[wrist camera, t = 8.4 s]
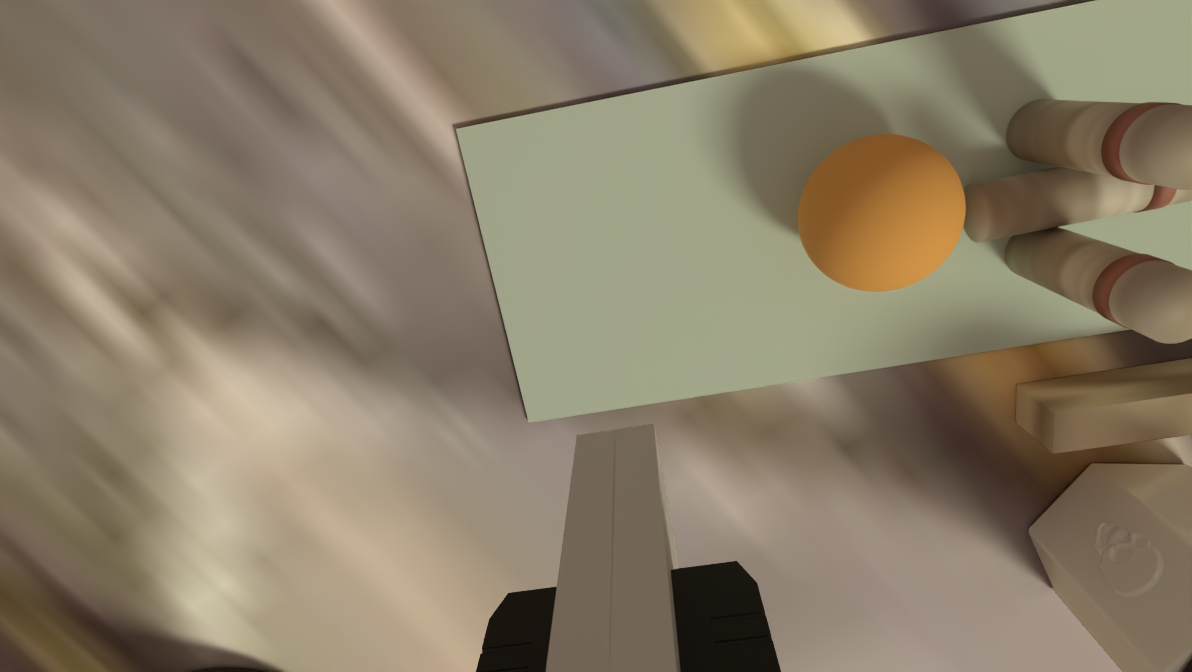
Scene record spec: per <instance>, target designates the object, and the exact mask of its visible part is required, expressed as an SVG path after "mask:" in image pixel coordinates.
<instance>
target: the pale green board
mask: <svg viewBox="0 0 1192 672" xmlns="http://www.w3.org/2000/svg"><path fill="white" fill-rule="evenodd" d="M1041 99H1048V100H1073V101H1098V102H1123V103H1146V102H1166V103H1179V104H1182V105H1192V0H1095V1H1090V2H1085V3H1080V4H1075V5H1070V6H1065V7H1060V8H1055V9H1050V10H1045V11H1040V12H1035V13H1030V14H1025V15H1020V16H1015V17H1010V18H1005V19H1000V20H995V21H990V22H985V23H980V24H975V25H970V26H965V27H961V28H956V29H951V30H946V31H941V32H936V33H931V34H926V35H921V36H916V37H911V38H906V39H901V40H896V41H891V42H886V43H881V44H876V45H871V46H866V47H861V48H856V49H851V50H846V51H841V52H836V53H831V54H826V55H821V56H816V57H811V58H806V59H801V60H796V61H791V62H786V63H781V64H776V65H771V66H766V67H761V68H756V69H751V70H746V71H741V72H736V73H731V74H727V75H722V76H717V77H712V78H707V79H702V80H697V81H692V82H687V83H682V84H677V85H672V86H667V87H662V88H657V89H652V90H647V91H642V92H637V93H632V94H627V95H622V96H617V97H612V98H607V99H602V100H597V101H592V102H587V103H582V104H577V105H572V106H567V107H562V108H557V109H552V110H547V111H542V112H537V113H532V114H527V115H522V116H517V117H512V118H507V119H502V120H498V121H493V122H488V123H483V124H478V125H473V126H468V127H463V128H458V129H456V132H457V136H458V140H459V144H460V148H461V152H462V156H463V160H464V164H465V168H466V172H467V176H468V180H469V184H470V188H471V192H472V197H473V201H474V205H475V209H476V213H477V217H478V221H479V225H480V229H481V233H482V237H483V241H484V245H485V249H486V253H487V257H488V261H489V265H490V269H491V273H492V277H493V281H494V285H495V289H496V293H497V297H498V301H499V305H500V309H501V313H502V317H503V321H504V325H505V329H506V333H507V337H508V341H509V345H510V349H511V353H512V357H513V361H514V365H515V369H516V373H517V377H518V381H519V386H520V390H521V394H522V398H523V402H524V406H525V410H526V414H527V418H528V422H529V423H530V422H537V421H543V420H550V419H556V418H562V417H569V416H575V415H582V414H588V413H595V412H601V411H608V410H614V409H621V408H627V407H633V406H640V405H646V404H653V403H659V402H666V401H672V400H679V399H685V398H691V397H698V396H704V395H711V394H717V393H724V392H730V391H737V390H743V389H750V388H756V387H762V386H769V385H775V384H782V383H788V382H795V381H801V380H808V379H814V378H821V377H827V376H833V375H840V374H846V373H853V372H859V371H866V370H872V369H879V368H885V367H892V366H898V365H904V364H911V363H917V362H924V361H930V360H937V359H943V358H950V357H956V356H962V355H969V354H975V353H982V352H988V351H995V350H1001V349H1008V348H1014V347H1021V346H1027V345H1033V344H1040V343H1046V342H1053V341H1059V340H1066V339H1072V338H1079V337H1085V336H1092V335H1098V334H1104V333H1111V332H1117V331H1124V330H1130V329H1128V328H1124V327H1122V326H1120V325H1118V324H1116V323H1114V322H1112V321H1110V320H1108V319H1105V318H1104V317H1102V316H1101V315H1100V314H1098V313H1096V312H1094V311H1092V310H1090V309H1088V308H1086V307H1084V306H1082V305H1080V304H1077V303H1075V302H1073V301H1071V300H1069V299H1067V298H1065V297H1063V296H1061V295H1059V294H1057V293H1054V292H1052V291H1050V290H1048V289H1046V288H1044V287H1042V286H1040V285H1038V284H1036V283H1034V282H1031V281H1029V280H1027V279H1025V278H1023V277H1021V276H1019V275H1017V274H1015V273H1013V272H1012V271H1011V270H1010V269H1009V268H1008V266H1007V264H1006V262H1005V248H1006V245H1007V243H1008V241H1009V239H1010V238H1011V237H1012V236H1009V237H1004V238H999V239H994V240H989V241H983V242H978V243H976V242H973V241H972V240H971V239H970V238H969V237H968V236H967V234H966V232H965V230H964V227H963V229H962V232H961V235H960V238H959V240H958V242H957V244H956V246H955V247H954V249H953V251H952V252H951V254H950V255H949V256H948V258H947V259H946V260H945V261H944V262H943V263H942V264H941V265H940V266H939V267H938V268H937V269H936V270H935V271H933V272H932V273H931V274H930V275H928V276H927V277H925V278H923V279H922V280H920V281H918V282H916V283H914V284H912V285H909V286H907V287H903V288H900V289H896V290H891V291H884V292H870V291H862V290H856V289H852V288H849V287H846V286H844V285H842V284H839V283H837V282H835V281H834V280H832V279H830V278H829V277H827V276H826V275H825V274H824V273H823V272H821V271H820V270H819V269H818V268H817V267H816V266H815V264H814V263H813V262H812V261H811V259H810V258H809V256H808V254H807V253H806V251H805V249H804V247H803V245H802V242H801V238H800V234H799V229H798V207H799V202H800V198H801V195H802V192H803V189H804V187H805V185H806V183H807V181H808V179H809V177H810V176H811V174H812V173H813V172H814V170H815V169H816V167H817V166H818V165H819V164H820V163H821V162H822V161H823V160H824V159H825V158H826V157H827V156H829V155H830V154H831V153H832V152H834V151H835V150H837V149H838V148H840V147H842V146H843V145H845V144H847V143H850V142H852V141H854V140H857V139H860V138H863V137H867V136H873V135H880V134H894V135H902V136H906V137H910V138H914V139H917V140H919V141H922V142H924V143H926V144H928V145H929V146H931V147H933V148H934V149H936V150H937V151H938V152H940V153H941V154H942V155H943V156H944V157H945V158H946V159H947V160H948V161H949V162H950V164H951V165H952V166H953V168H954V169H955V171H956V173H957V174H958V176H959V178H960V181H961V184H962V187H963V189H964V188H965V187H966V186H967V185H971V184H976V183H981V182H985V181H990V180H995V179H1000V178H1005V177H1010V176H1015V175H1020V174H1024V173H1029V172H1034V171H1039V170H1044V169H1049V168H1054V167H1058V166H1053V165H1048V164H1043V163H1038V162H1032V161H1027V160H1023V159H1020V158H1018V157H1016V156H1015V155H1014V154H1013V153H1012V152H1011V151H1010V149H1009V147H1008V145H1007V141H1006V132H1007V127H1008V124H1009V122H1010V120H1011V118H1012V117H1013V115H1014V114H1015V113H1016V112H1017V111H1018V110H1019V109H1020V108H1021V107H1023V106H1024V105H1025V104H1027V103H1029V102H1032V101H1035V100H1041ZM1060 228H1063V229H1066V230H1069V231H1072V232H1075V233H1078V234H1081V235H1084V236H1087V237H1090V238H1094V239H1097V240H1100V241H1103V242H1106V243H1109V244H1112V245H1115V246H1118V247H1121V248H1124V249H1128V250H1131V251H1134V252H1137V253H1140V254H1148V255H1151V256H1154V257H1157V258H1160V259H1164V260H1167V261H1170V262H1172V263H1174V264H1175V265H1177V266H1180V267H1183V268H1186V269H1189V270H1192V201H1188V202H1183V203H1178V204H1173V205H1167V206H1165V207H1163V208H1159V209H1153V210H1148V211H1143V212H1138V213H1134V212H1132V213H1127V214H1121V215H1116V216H1111V217H1106V218H1101V219H1096V220H1091V221H1086V222H1081V223H1075V224H1070V225H1065V226H1060Z"/></svg>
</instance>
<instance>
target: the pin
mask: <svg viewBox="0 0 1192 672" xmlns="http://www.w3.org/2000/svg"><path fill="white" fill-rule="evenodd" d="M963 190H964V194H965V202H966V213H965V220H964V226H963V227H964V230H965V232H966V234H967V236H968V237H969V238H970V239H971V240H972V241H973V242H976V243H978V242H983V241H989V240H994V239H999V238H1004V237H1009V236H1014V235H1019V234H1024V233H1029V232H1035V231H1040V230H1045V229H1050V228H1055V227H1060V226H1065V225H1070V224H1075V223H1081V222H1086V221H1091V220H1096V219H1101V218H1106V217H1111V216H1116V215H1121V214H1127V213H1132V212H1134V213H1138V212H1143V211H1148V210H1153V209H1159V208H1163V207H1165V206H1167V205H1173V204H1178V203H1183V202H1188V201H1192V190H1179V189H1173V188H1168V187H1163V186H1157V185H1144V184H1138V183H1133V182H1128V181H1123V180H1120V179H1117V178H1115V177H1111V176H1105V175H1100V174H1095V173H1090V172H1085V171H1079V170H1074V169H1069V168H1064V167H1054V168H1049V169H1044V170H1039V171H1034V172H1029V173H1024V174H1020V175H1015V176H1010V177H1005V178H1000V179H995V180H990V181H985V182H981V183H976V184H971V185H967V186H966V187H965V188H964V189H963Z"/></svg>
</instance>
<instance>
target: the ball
mask: <svg viewBox="0 0 1192 672" xmlns="http://www.w3.org/2000/svg"><path fill="white" fill-rule="evenodd" d="M965 213H966V202H965V194H964V190H963V187H962V184H961V181H960V178H959V176H958V174H957V173H956V171H955V169H954V168H953V166H952V165H951V164H950V162H949V161H948V160H947V159H946V158H945V157H944V156H943V155H942V154H941V153H940V152H938V151H937V150H936V149H934V148H933V147H931V146H929V145H928V144H926V143H924V142H922V141H919V140H917V139H914V138H910V137H906V136H902V135H894V134H880V135H873V136H867V137H863V138H860V139H857V140H854V141H852V142H850V143H847V144H845V145H843V146H842V147H840V148H838V149H837V150H835V151H834V152H832V153H831V154H830V155H829V156H827V157H826V158H825V159H824V160H823V161H822V162H821V163H820V164H819V165H818V166H817V167H816V169H815V170H814V172H813V173H812V174H811V176H810V177H809V179H808V181H807V183H806V185H805V187H804V189H803V192H802V195H801V198H800V202H799V207H798V229H799V234H800V238H801V242H802V245H803V247H804V249H805V251H806V253H807V254H808V256H809V258H810V259H811V261H812V262H813V263H814V264H815V266H816V267H817V268H818V269H819V270H820V271H821V272H823V273H824V274H825V275H826V276H827V277H829V278H830V279H832V280H834V281H835V282H837V283H839V284H842V285H844V286H846V287H849V288H852V289H856V290H862V291H870V292H884V291H891V290H896V289H900V288H903V287H907V286H909V285H912V284H914V283H916V282H918V281H920V280H922V279H923V278H925V277H927V276H928V275H930V274H931V273H932V272H933V271H935V270H936V269H937V268H938V267H939V266H940V265H941V264H942V263H943V262H944V261H945V260H946V259H947V258H948V256H949V255H950V254H951V252H952V251H953V249H954V247H955V246H956V244H957V242H958V240H959V238H960V235H961V232H962V229H963V226H964V220H965Z"/></svg>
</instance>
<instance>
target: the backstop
mask: <svg viewBox="0 0 1192 672" xmlns="http://www.w3.org/2000/svg"><path fill="white" fill-rule="evenodd" d="M1016 423H1017V424H1019V425H1020V426H1021V427H1022V428H1023V429H1024V430H1026V431H1027V432H1028V433H1029V434H1030V435H1031V436H1033V437H1034V438H1035V439H1036V440H1037V441H1038V442H1040V443H1041V444H1042V445H1043V446H1044V447H1045V448H1047V449H1048V450H1049V451H1050V452H1051V453H1052V454H1056V453H1063V452H1070V451H1078V450H1085V449H1092V448H1099V447H1106V446H1113V445H1121V444H1128V443H1135V442H1142V441H1149V440H1157V439H1164V438H1171V437H1178V436H1185V435H1192V358H1190V359H1183V360H1176V361H1170V362H1163V363H1156V364H1150V365H1143V366H1136V367H1130V368H1123V369H1116V370H1110V371H1103V372H1096V373H1090V374H1083V375H1076V376H1070V377H1063V378H1056V379H1049V380H1043V381H1036V382H1029V383H1023V384H1017V387H1016Z"/></svg>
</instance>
